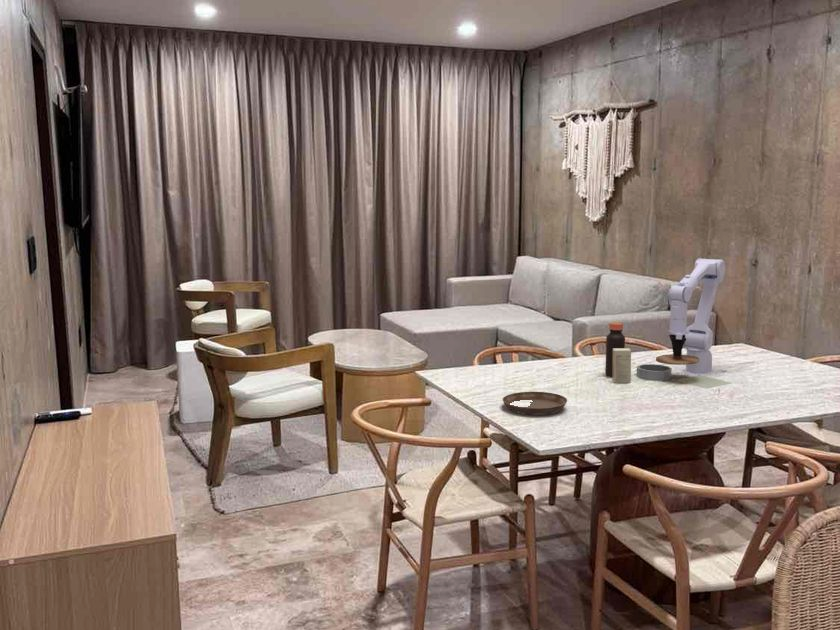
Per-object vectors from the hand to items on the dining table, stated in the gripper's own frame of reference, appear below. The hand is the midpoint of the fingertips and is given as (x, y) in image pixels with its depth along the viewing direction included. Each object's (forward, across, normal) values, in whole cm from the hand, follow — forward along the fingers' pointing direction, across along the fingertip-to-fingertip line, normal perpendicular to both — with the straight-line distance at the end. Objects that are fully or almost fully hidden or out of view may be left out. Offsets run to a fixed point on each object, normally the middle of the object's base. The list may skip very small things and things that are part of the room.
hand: (676, 355), depth 286 cm
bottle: (+10, +3, +22) cm, 24 cm away
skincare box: (+10, -6, +19) cm, 23 cm away
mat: (+9, -2, -10) cm, 13 cm away
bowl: (+9, +2, +8) cm, 12 cm away
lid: (+2, 0, 0) cm, 2 cm away
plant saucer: (+10, -48, +46) cm, 68 cm away
